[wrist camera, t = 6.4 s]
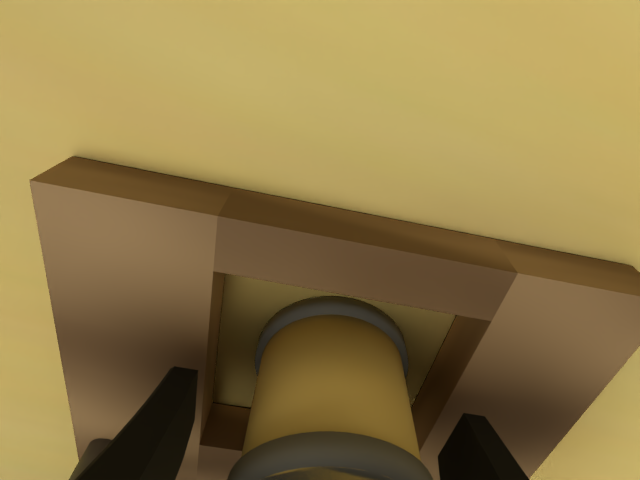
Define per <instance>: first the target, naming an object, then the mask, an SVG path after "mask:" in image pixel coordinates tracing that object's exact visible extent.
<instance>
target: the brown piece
mask: <svg viewBox="0 0 640 480" xmlns="http://www.w3.org/2000/svg"><path fill="white" fill-rule="evenodd" d="M30 186H31V192H32V197H33V203H34V209H35V214H36V220H37V226H38V231H39V237H40V243H41V248H42V254H43V260H44V265H45V271H46V276H47V282H48V288H49V293H50V299H51V305H52V310H53V316H54V322H55V327H56V333H57V339H58V344H59V350H60V356H61V361H62V367H63V373H64V378H65V384H66V389H67V395H68V401H69V406H70V412H71V418H72V423H73V429H74V435H75V440H76V446H77V452H78V457H79V462H78V464H77V466H76V468H75V470H74V471H73V473H72V475H71V477H70V478H69V480H75V479H76V478H77V477H78V476H79V475H80V474H81V473H82V471H83V470H84V469H85V468H86V467H87V466H88V465H89V464H90V463H91V462H92V461H93V460H94V459H95V458H96V457H97V456H98V455H99V454H100V453H101V452H102V451H103V450H104V449H105V447H106V446H107V445H108V444H109V443H110V442H111V441H112V440H113V439H114V437H115V436H116V435H117V434H118V433H119V432H120V431H121V430H122V428H123V427H124V426H125V425H126V424H127V423H128V422H129V420H130V419H131V418H132V417H133V416H134V415H135V413H136V412H137V411H138V410H139V409H140V407H141V406H142V405H143V404H144V403H145V401H146V400H147V399H148V398H149V396H150V395H151V394H152V393H153V391H154V390H155V389H156V387H157V386H158V385H159V383H160V382H161V381H162V379H163V378H164V377H165V375H166V374H167V372H168V371H169V370H170V368H172V367H174V366H176V367H182V368H188V369H195V370H198V380H197V395H196V410H195V421H194V424H193V428H192V431H191V435H190V438H189V441H188V445H187V448H186V451H185V455H184V458H183V461H182V464H181V466H180V469H179V471H178V474H177V477H176V479H175V480H227V479H228V476H229V473H230V471H231V469H232V468H233V466H234V465H235V463H236V462H237V461H238V460H239V459H240V458H241V455H242V450H243V445H244V440H245V436H246V431H247V426H248V421H249V416H250V411H251V409H248V408H241V407H235V406H228V405H222V404H216V403H212V399H213V389H214V379H215V369H216V359H217V349H218V339H219V329H220V319H221V309H222V299H223V288H224V278H225V273H226V274H232V275H237V276H243V277H248V278H254V279H259V280H265V281H271V282H276V283H282V284H287V285H293V286H298V287H304V288H309V289H315V290H321V291H326V292H332V293H337V294H343V295H348V296H354V297H360V298H365V299H371V300H376V301H382V302H387V303H393V304H398V305H404V306H410V307H415V308H421V309H426V310H432V311H437V312H443V313H449V314H454V315H457V316H456V318H455V320H454V322H453V324H452V326H451V328H450V330H449V332H448V334H447V336H446V339H445V341H444V343H443V345H442V347H441V349H440V351H439V353H438V355H437V357H436V359H435V361H434V363H433V365H432V367H431V369H430V371H429V373H428V375H427V377H426V379H425V382H424V384H423V386H422V388H421V390H420V392H419V394H418V396H417V398H416V400H415V402H414V404H413V406H412V408H411V412H412V417H413V422H414V427H415V432H416V437H417V443H418V448H419V453H420V458H421V462H422V463H423V464H424V466H425V467H426V468H427V469H428V471H429V472H430V474H431V475H432V478H433V480H440V475H439V466H438V455H439V453H440V451H441V450H442V448H443V446H444V445H445V443H446V441H447V440H448V438H449V436H450V435H451V433H452V431H453V430H454V428H455V426H456V425H457V423H458V421H459V420H460V418H461V416H462V414H463V413H468V414H474V415H480V416H485V417H486V419H487V420H488V421H489V423H490V424H491V425H492V427H493V428H494V430H495V431H496V433H497V434H498V435H499V437H500V438H501V440H502V441H503V443H504V444H505V446H506V447H507V448H508V450H509V451H510V453H511V454H512V456H513V457H514V458H515V460H516V461H517V463H518V464H519V466H520V467H521V468H522V470H523V471H524V473H525V474H526V476H527V477H528V478H530V477H531V476H532V475H533V473H534V472H535V471H536V470H537V469H538V467H539V466H540V465H541V464H542V463H543V461H544V460H545V459H546V458H547V457H548V455H549V454H550V453H551V452H552V451H553V449H554V448H555V447H556V446H557V445H558V443H559V442H560V441H561V440H562V439H563V437H564V436H565V435H566V434H567V432H568V431H569V430H570V429H571V428H572V426H573V425H574V424H575V423H576V422H577V420H578V419H579V418H580V417H581V416H582V414H583V413H584V412H585V411H586V410H587V408H588V407H589V406H590V405H591V404H592V402H593V401H594V400H595V399H596V398H597V396H598V395H599V394H600V393H601V392H602V390H603V389H604V388H605V387H606V386H607V384H608V383H609V382H610V381H611V380H612V378H613V377H614V376H615V375H616V374H617V372H618V371H619V370H620V369H621V368H622V366H623V365H624V364H625V363H626V362H627V360H628V359H629V358H630V357H631V356H632V354H633V353H634V352H635V351H636V350H637V348H638V347H639V346H640V272H638V271H637V270H636V269H635V268H634V267H633V266H629V265H624V264H619V263H614V262H609V261H604V260H599V259H594V258H588V257H583V256H578V255H573V254H568V253H563V252H558V251H553V250H548V249H543V248H537V247H532V246H527V245H522V244H517V243H512V242H507V241H502V240H497V239H492V238H486V237H481V236H476V235H471V234H466V233H461V232H456V231H451V230H446V229H440V228H435V227H430V226H425V225H420V224H415V223H410V222H405V221H400V220H395V219H389V218H384V217H379V216H374V215H369V214H364V213H359V212H354V211H349V210H344V209H338V208H333V207H328V206H323V205H318V204H313V203H308V202H303V201H298V200H293V199H287V198H282V197H277V196H272V195H267V194H262V193H257V192H252V191H247V190H241V189H236V188H231V187H226V186H221V185H216V184H211V183H206V182H201V181H196V180H190V179H185V178H180V177H175V176H170V175H165V174H160V173H155V172H150V171H145V170H139V169H134V168H129V167H124V166H119V165H114V164H109V163H104V162H99V161H94V160H88V159H83V158H78V157H73V156H72V157H70V158H68V159H67V160H65V161H63V162H61V163H59V164H58V165H56V166H54V167H52V168H50V169H49V170H47V171H45V172H43V173H42V174H40V175H38V176H36V177H34V178H33V179H31V180H30Z"/></svg>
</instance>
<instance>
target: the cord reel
mask: <svg viewBox="0 0 640 480" xmlns="http://www.w3.org/2000/svg"><path fill="white" fill-rule="evenodd" d="M255 369H256V374H257V376H258V378H257V382H256V387H255V392H254V397H253V402H252V407H251V411H250V416H249V421H248V426H247V431H246V436H245V440H244V445H243V450H242V455H241V458H240V459H239V460H238V461H237V462H236V463H235V465H234V466H233V468H232V469H231V471H230V473H229V476H228V479H227V480H433V478H432V475H431V474H430V472H429V471H428V469H427V468H426V467H425V466H424V464H423V463H422V462H421V458H420V453H419V448H418V443H417V437H416V432H415V427H414V422H413V417H412V412H411V406H410V401H409V396H408V391H407V386H406V381H405V379H406V376H407V372H408V356H407V351H406V347H405V342H404V339H403V336H402V333H401V331H400V329H399V328H398V326H397V325H396V324H395V322H394V321H393V320H392V319H391V318H390V317H389V316H388V315H387V314H385V313H384V312H383V311H381V310H380V309H378V308H376V307H375V306H373V305H371V304H368V303H366V302H363V301H360V300H357V299H353V298H348V297H341V296H320V297H313V298H308V299H304V300H301V301H298V302H295V303H293V304H291V305H289V306H287V307H285V308H283V309H282V310H280V311H279V312H278V313H276V314H275V315H274V316H273V317H272V318H271V319H270V320H269V321H268V323H267V324H266V325H265V327H264V329H263V330H262V332H261V335H260V338H259V342H258V346H257V350H256V356H255Z"/></svg>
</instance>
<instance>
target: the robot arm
mask: <svg viewBox="0 0 640 480" xmlns="http://www.w3.org/2000/svg"><path fill="white" fill-rule="evenodd" d="M197 380H198V370H195V369H188V368H182V367H176V366H174V367H172V368H170V370H169V371H168V372H167V374H166V375H165V377H164V378H163V379H162V381H161V382H160V383H159V385H158V386H157V387H156V389H155V390H154V391H153V393H152V394H151V395H150V396H149V398H148V399H147V400H146V401H145V403H144V404H143V405H142V406H141V407H140V409H139V410H138V411H137V412H136V413H135V415H134V416H133V417H132V418H131V419H130V420H129V422H128V423H127V424H126V425H125V426H124V427H123V428H122V430H121V431H120V432H119V433H118V434H117V435H116V436H115V437H114V439H113V440H112V441H111V442H110V443H109V444H108V445H107V446H106V447H105V449H104V450H103V451H102V452H101V453H100V454H99V455H98V456H97V457H96V458H95V459H94V460H93V461H92V462H91V463H90V464H89V465H88V466H87V467H86V468H85V469H84V470H83V471H82V473H81V474H80V475H79V476H78V477H77V478H76V479H75V480H175V479H176V477H177V474H178V471H179V469H180V466H181V464H182V461H183V458H184V455H185V451H186V448H187V445H188V441H189V438H190V435H191V431H192V428H193V424H194V421H195V410H196V395H197ZM438 466H439V475H440V480H529V478H528V477H527V476H526V474H525V473H524V471H523V470H522V468H521V467H520V466H519V464H518V463H517V461H516V460H515V458H514V457H513V456H512V454H511V453H510V451H509V450H508V448H507V447H506V446H505V444H504V443H503V441H502V440H501V438H500V437H499V435H498V434H497V433H496V431H495V430H494V428H493V427H492V425H491V424H490V423H489V421H488V420H487V419H486V417H485V416H480V415H474V414H468V413H463V414H462V416H461V418H460V420H459V421H458V423H457V425H456V426H455V428H454V430H453V431H452V433H451V435H450V436H449V438H448V440H447V441H446V443H445V445H444V446H443V448H442V450H441V451H440V453H439V455H438Z"/></svg>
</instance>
